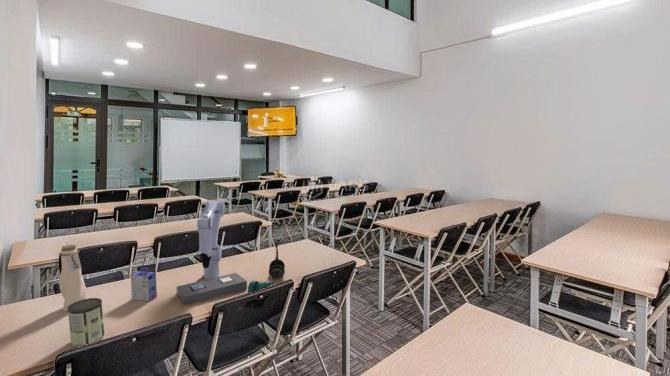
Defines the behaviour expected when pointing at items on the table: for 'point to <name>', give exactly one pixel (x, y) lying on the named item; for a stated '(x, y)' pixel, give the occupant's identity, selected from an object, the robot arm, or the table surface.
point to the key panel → (210, 288)
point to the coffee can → (86, 321)
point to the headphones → (276, 266)
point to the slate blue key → (197, 287)
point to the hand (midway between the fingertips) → (205, 267)
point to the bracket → (259, 285)
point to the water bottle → (71, 276)
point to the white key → (225, 280)
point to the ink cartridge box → (143, 285)
